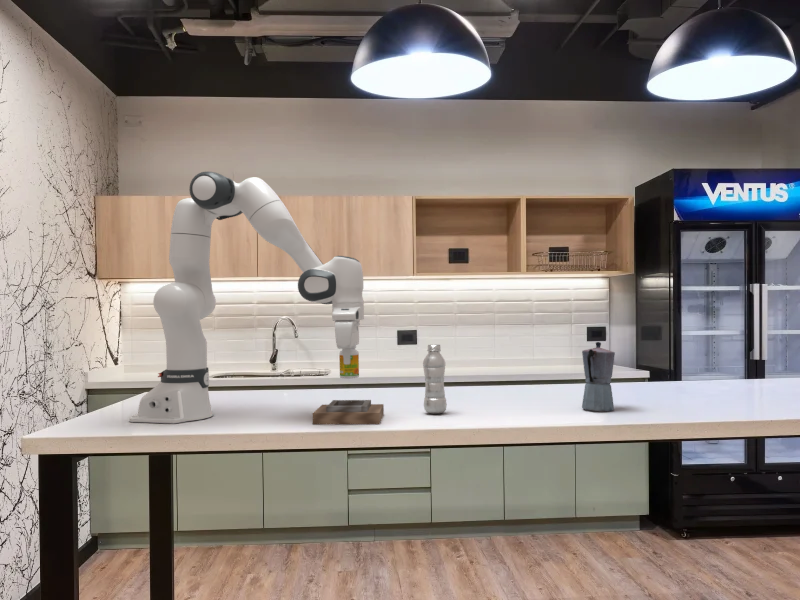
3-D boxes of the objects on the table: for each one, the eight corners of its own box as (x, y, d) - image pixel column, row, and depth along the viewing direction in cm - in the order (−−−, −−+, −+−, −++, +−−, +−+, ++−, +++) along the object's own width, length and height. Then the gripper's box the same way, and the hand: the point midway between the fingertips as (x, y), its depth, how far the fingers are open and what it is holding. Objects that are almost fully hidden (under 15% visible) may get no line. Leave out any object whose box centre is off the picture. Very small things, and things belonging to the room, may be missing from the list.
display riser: (312, 424, 152) (312, 407, 152) (322, 414, 166) (322, 399, 166) (379, 424, 151) (379, 407, 151) (383, 414, 165) (383, 399, 165)
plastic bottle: (445, 415, 161) (444, 345, 161) (422, 415, 162) (420, 345, 163) (448, 411, 167) (447, 344, 168) (425, 411, 169) (424, 344, 169)
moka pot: (620, 407, 170) (619, 341, 171) (609, 416, 157) (607, 344, 158) (588, 405, 176) (587, 340, 176) (574, 413, 163) (573, 343, 163)
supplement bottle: (343, 379, 155) (342, 343, 155) (337, 377, 160) (336, 342, 160) (361, 377, 157) (361, 342, 157) (355, 375, 162) (354, 341, 162)
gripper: (342, 313, 169) (343, 359, 169) (330, 314, 149) (331, 366, 149) (363, 313, 169) (364, 359, 169) (354, 313, 148) (355, 366, 148)
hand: (348, 363), depth 158 cm, fingers closed on supplement bottle, 5 cm apart
